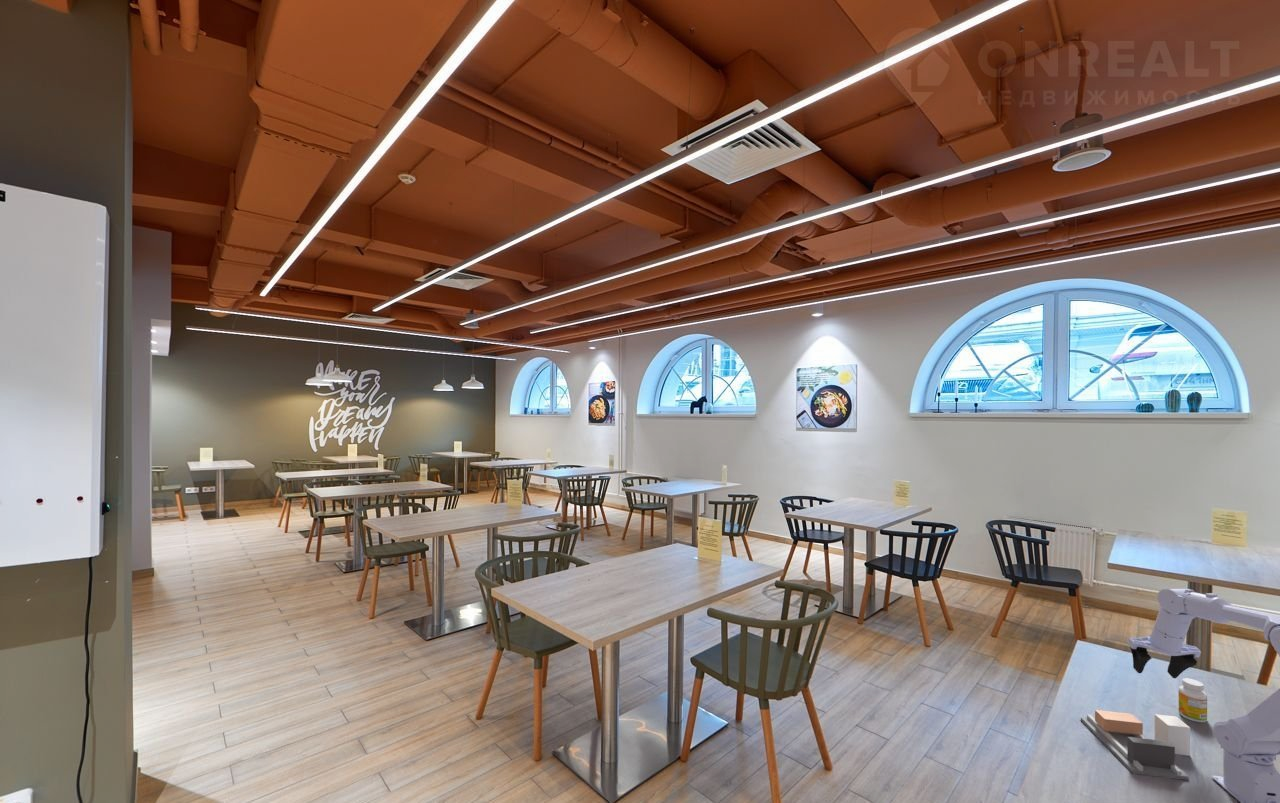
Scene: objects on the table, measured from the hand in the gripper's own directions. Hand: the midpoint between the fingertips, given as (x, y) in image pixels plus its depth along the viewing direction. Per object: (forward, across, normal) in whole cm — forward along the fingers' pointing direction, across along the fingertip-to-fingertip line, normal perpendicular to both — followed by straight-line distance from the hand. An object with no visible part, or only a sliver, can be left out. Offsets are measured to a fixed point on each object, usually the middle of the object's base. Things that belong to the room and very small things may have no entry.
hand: (1154, 672), depth 136 cm
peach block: (+12, +9, +8) cm, 17 cm away
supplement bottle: (+17, -16, -5) cm, 24 cm away
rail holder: (+13, +9, +13) cm, 21 cm away
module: (+13, -1, +11) cm, 17 cm away
